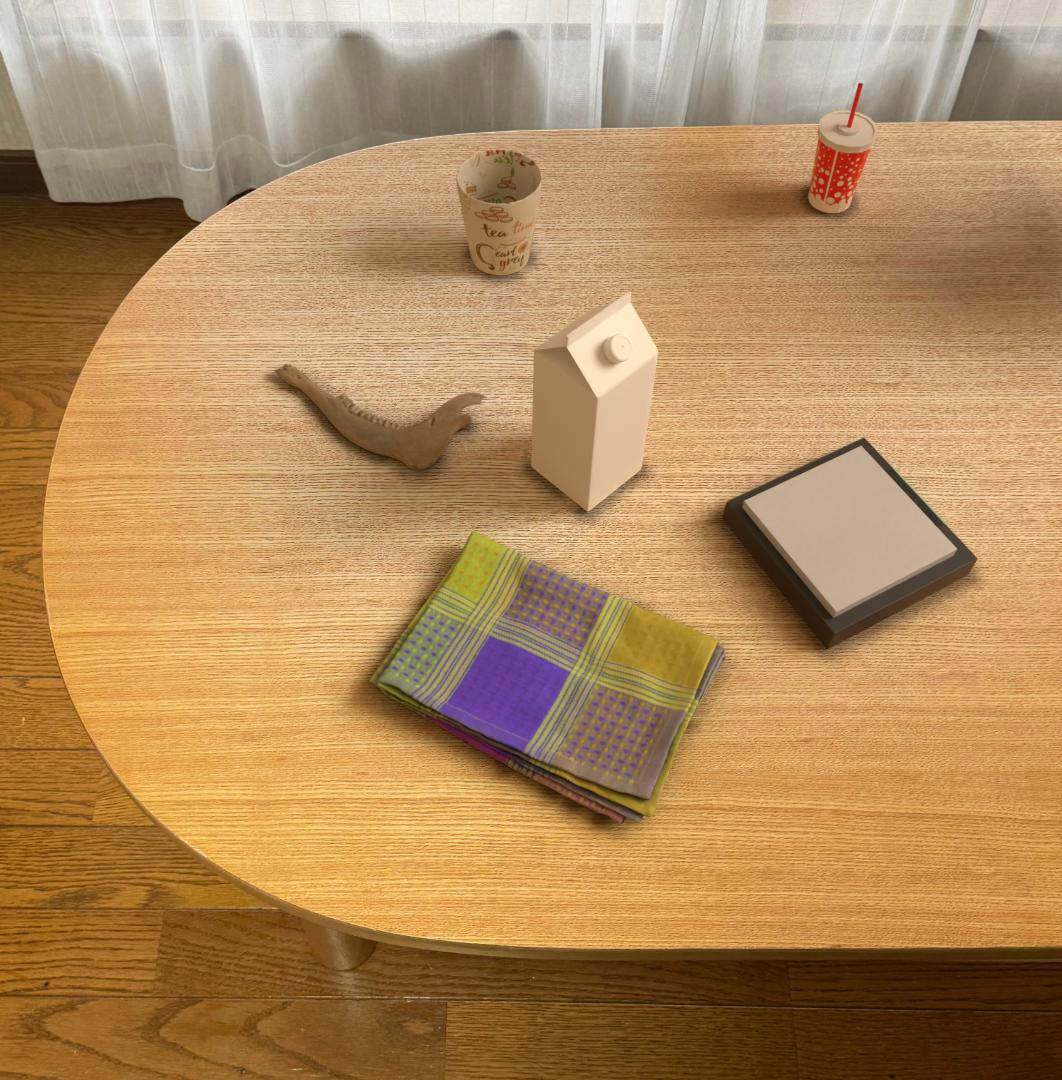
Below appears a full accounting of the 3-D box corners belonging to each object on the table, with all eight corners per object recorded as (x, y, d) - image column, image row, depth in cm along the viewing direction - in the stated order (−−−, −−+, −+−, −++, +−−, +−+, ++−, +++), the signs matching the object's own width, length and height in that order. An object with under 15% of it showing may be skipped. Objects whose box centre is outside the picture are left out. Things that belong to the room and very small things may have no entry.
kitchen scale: (858, 454, 107) (867, 429, 104) (969, 574, 99) (983, 551, 96) (721, 518, 102) (727, 494, 99) (827, 649, 95) (837, 627, 92)
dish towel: (477, 535, 101) (476, 516, 99) (737, 657, 94) (742, 640, 92) (363, 693, 92) (359, 676, 90) (641, 840, 85) (645, 826, 83)
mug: (450, 276, 119) (445, 196, 111) (482, 198, 127) (480, 118, 118) (529, 290, 118) (530, 210, 110) (557, 211, 126) (560, 131, 117)
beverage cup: (866, 193, 128) (900, 78, 116) (845, 225, 125) (878, 110, 113) (814, 174, 130) (843, 59, 118) (792, 205, 127) (819, 90, 115)
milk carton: (530, 468, 105) (533, 312, 90) (585, 426, 108) (597, 268, 93) (587, 514, 102) (601, 361, 87) (642, 470, 105) (664, 314, 90)
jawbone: (463, 484, 105) (461, 471, 103) (246, 446, 107) (241, 433, 105) (487, 404, 109) (485, 391, 107) (278, 370, 112) (273, 356, 110)
